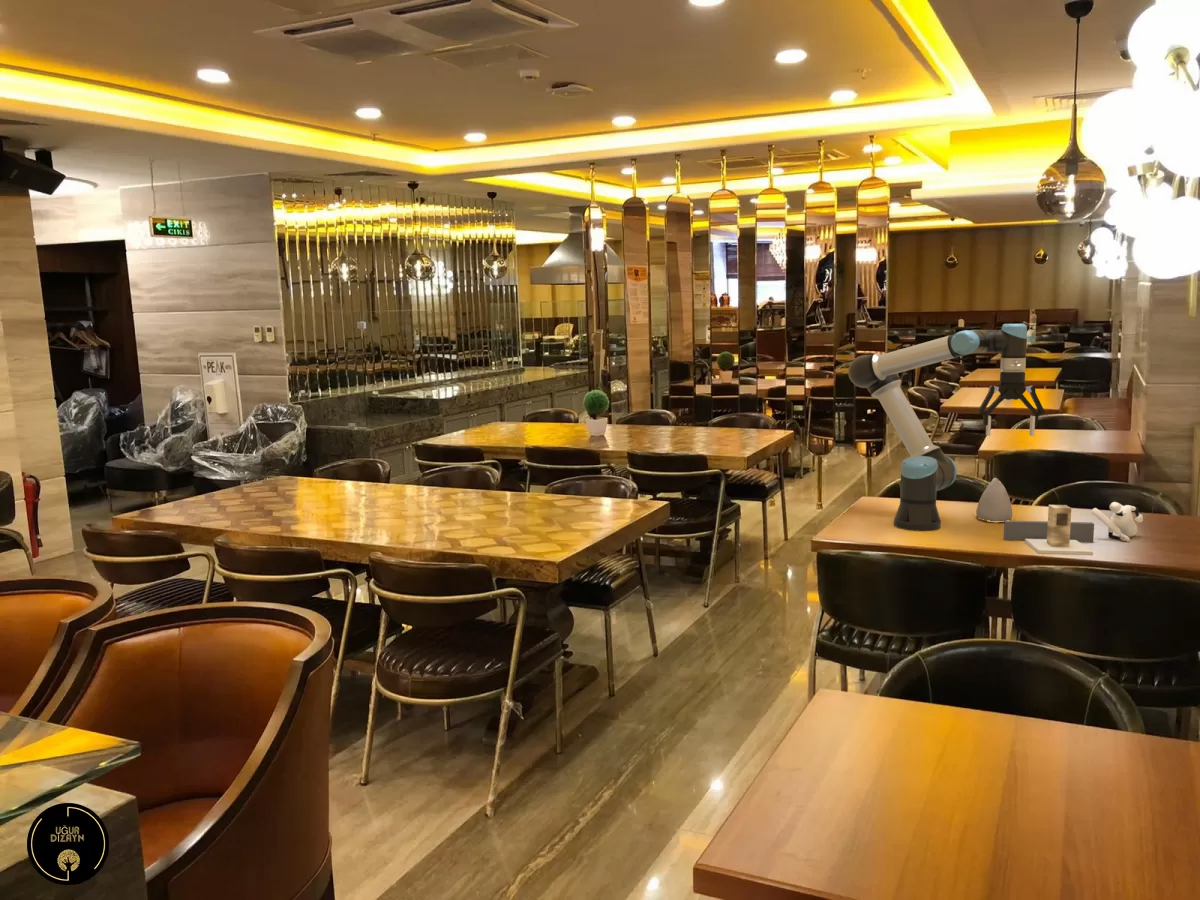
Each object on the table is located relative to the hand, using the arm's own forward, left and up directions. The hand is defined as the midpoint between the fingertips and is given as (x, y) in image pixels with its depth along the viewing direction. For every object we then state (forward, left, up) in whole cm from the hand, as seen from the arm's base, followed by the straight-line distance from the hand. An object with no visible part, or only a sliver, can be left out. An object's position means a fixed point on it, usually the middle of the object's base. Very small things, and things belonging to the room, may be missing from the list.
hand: (1009, 435), depth 300 cm
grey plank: (+9, -15, -32) cm, 36 cm away
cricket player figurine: (+32, -10, -32) cm, 46 cm away
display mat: (+9, -25, -32) cm, 41 cm away
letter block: (+9, -25, -31) cm, 41 cm away
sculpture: (0, +16, -32) cm, 36 cm away
